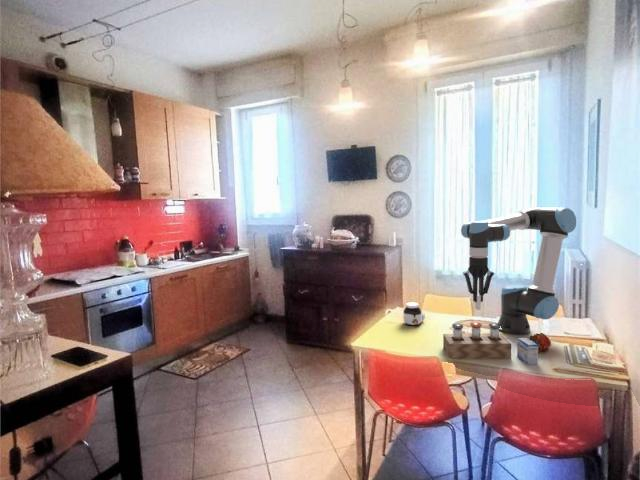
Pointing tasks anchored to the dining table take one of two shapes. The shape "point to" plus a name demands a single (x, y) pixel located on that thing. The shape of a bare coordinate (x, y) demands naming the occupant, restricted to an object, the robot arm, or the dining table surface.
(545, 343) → the dragon fruit
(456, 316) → the dining table surface
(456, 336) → the plunger
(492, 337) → the plunger
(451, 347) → the block
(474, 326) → the plunger
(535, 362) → the medicine box
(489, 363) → the dining table surface
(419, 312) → the spread jar
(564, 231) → the robot arm
